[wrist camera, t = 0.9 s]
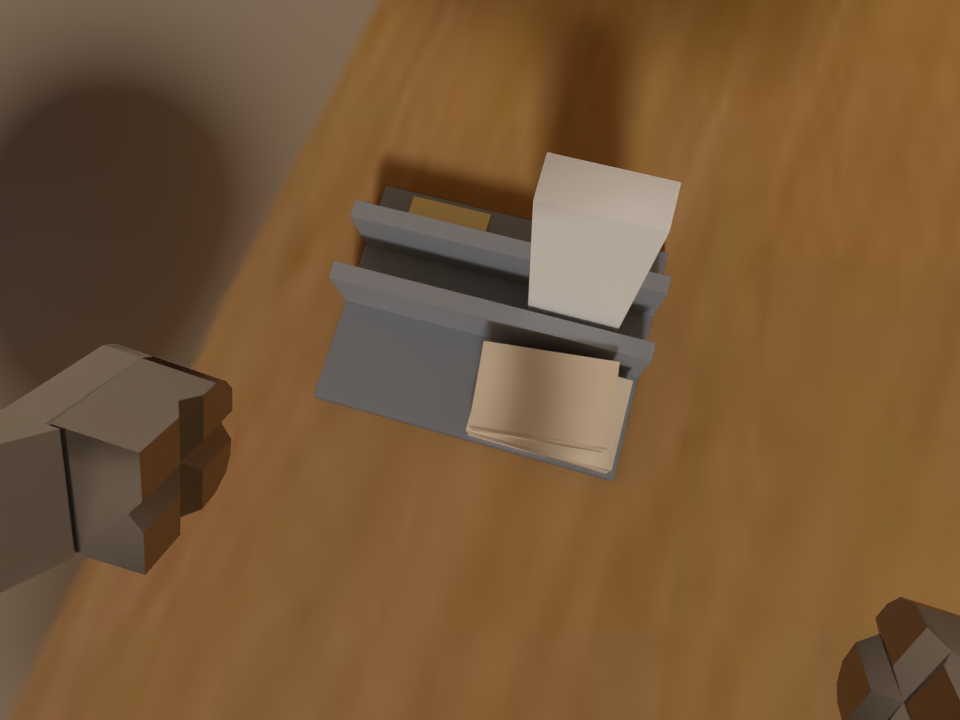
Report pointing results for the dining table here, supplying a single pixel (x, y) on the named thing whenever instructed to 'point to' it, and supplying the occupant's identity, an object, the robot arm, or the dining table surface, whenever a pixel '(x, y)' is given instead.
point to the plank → (595, 239)
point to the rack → (455, 314)
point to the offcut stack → (550, 404)
